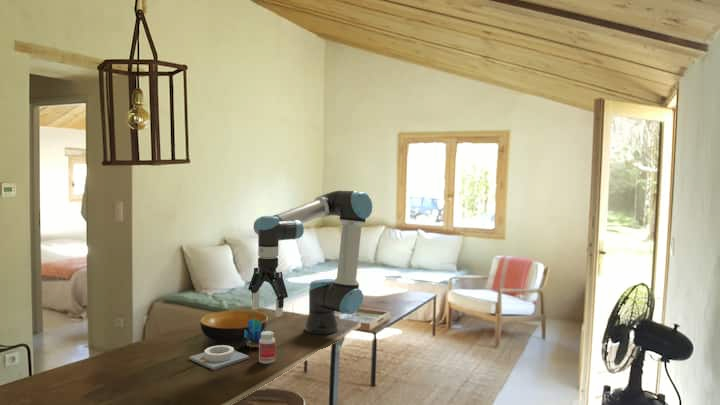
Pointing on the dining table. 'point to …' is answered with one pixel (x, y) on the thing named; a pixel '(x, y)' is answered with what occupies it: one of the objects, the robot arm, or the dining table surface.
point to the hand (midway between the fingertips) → (267, 312)
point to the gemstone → (254, 333)
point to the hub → (218, 357)
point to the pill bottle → (267, 347)
